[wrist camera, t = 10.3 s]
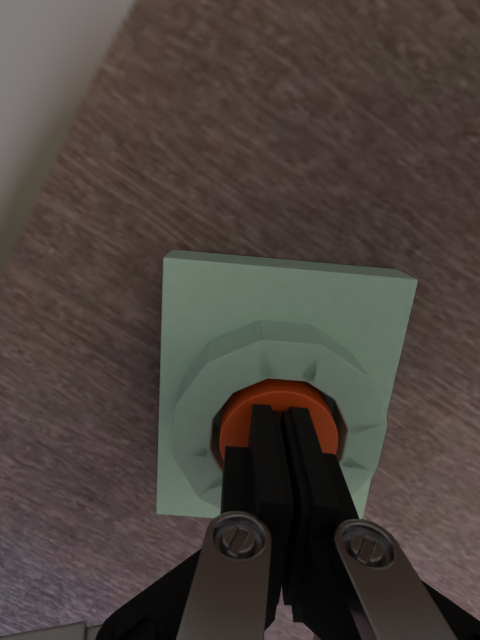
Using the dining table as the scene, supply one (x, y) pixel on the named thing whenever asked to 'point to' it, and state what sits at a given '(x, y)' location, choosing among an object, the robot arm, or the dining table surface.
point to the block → (272, 359)
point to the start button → (280, 399)
